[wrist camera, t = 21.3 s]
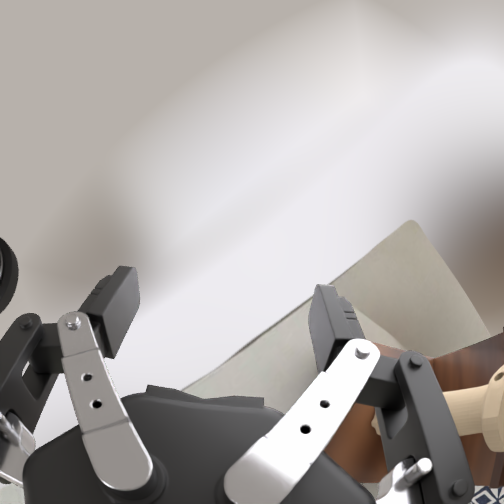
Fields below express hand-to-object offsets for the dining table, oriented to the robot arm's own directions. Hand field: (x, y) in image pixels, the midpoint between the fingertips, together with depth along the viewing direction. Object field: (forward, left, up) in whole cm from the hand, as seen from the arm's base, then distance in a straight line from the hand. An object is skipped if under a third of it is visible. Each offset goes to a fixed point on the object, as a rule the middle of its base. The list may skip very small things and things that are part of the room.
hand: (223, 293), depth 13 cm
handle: (+18, -3, -12) cm, 22 cm away
